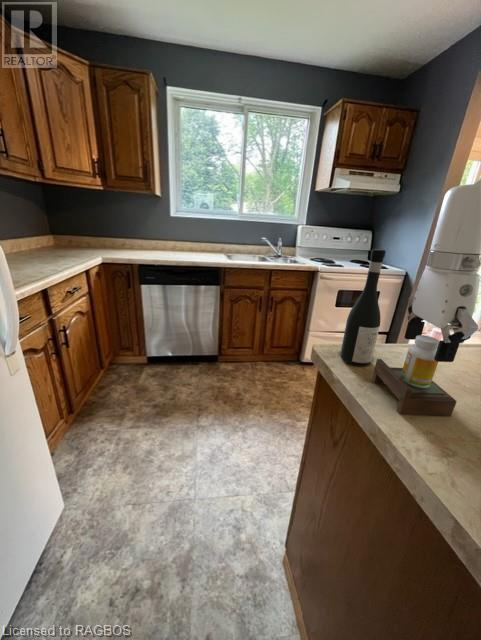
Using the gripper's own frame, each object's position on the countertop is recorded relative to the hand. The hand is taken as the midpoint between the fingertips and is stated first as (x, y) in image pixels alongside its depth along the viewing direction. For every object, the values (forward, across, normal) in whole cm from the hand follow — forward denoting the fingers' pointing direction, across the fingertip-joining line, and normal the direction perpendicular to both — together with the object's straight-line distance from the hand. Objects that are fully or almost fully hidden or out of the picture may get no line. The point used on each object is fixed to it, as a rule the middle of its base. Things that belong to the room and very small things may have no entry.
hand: (426, 349), depth 54 cm
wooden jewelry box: (+13, 0, +1) cm, 13 cm away
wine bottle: (+13, +18, +5) cm, 23 cm away
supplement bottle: (+8, 0, 0) cm, 8 cm away
